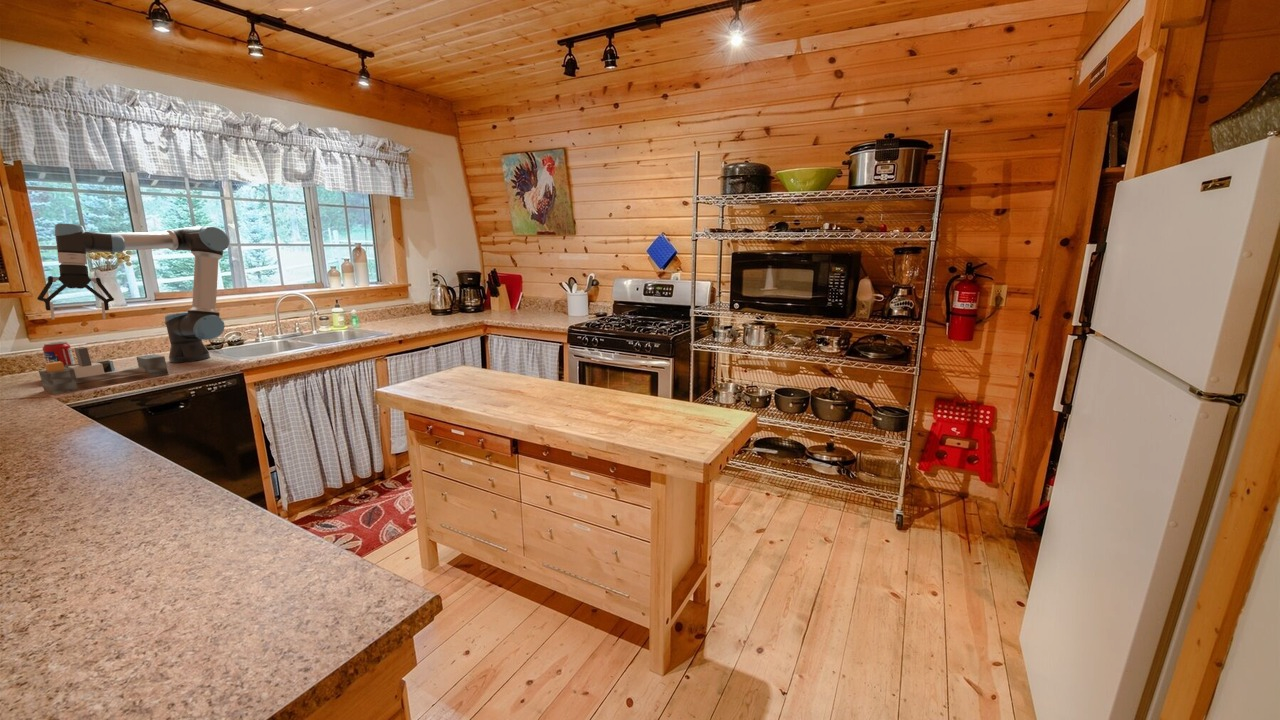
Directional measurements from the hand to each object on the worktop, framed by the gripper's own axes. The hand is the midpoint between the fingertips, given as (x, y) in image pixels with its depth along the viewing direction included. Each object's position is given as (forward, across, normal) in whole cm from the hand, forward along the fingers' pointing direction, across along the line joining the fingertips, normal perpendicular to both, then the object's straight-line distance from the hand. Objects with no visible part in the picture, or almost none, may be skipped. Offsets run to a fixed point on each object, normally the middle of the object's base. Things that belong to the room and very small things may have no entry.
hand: (79, 319), depth 200 cm
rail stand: (+26, +6, -1) cm, 27 cm away
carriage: (+22, +1, -2) cm, 22 cm away
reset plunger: (+21, -7, -4) cm, 23 cm away
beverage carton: (+26, -1, +19) cm, 32 cm away
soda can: (+26, -6, +30) cm, 40 cm away
